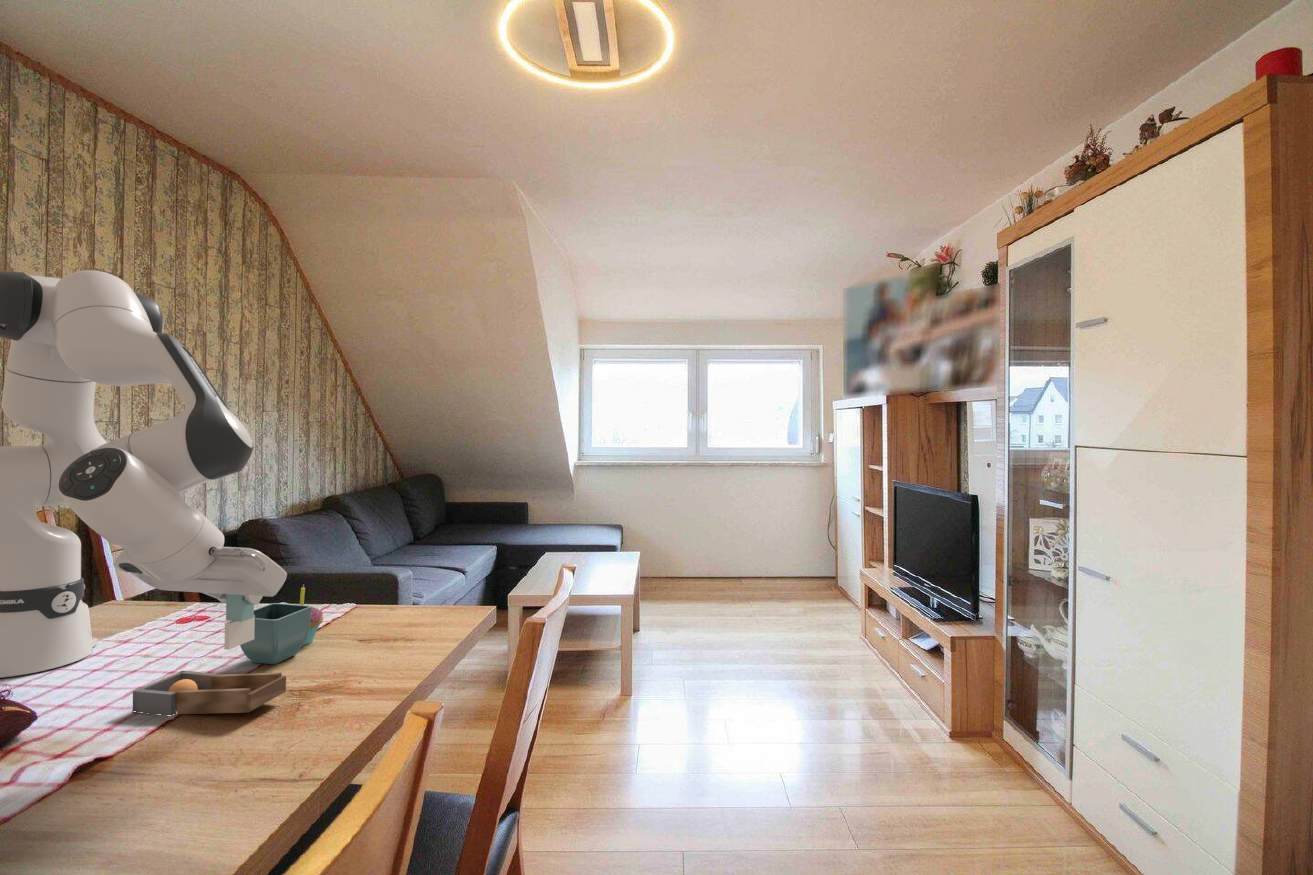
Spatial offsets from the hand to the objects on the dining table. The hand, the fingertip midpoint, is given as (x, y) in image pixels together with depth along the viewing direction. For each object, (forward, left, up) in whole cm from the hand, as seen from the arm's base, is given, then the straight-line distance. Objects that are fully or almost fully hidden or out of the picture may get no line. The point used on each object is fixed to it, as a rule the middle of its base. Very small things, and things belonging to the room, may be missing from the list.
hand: (243, 599), depth 88 cm
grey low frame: (-11, -1, -16) cm, 20 cm away
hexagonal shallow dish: (-2, -1, -16) cm, 16 cm away
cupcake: (-13, +26, -17) cm, 33 cm away
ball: (-10, -1, -14) cm, 18 cm away
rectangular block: (0, -1, -6) cm, 6 cm away
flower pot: (-10, +17, -17) cm, 26 cm away
